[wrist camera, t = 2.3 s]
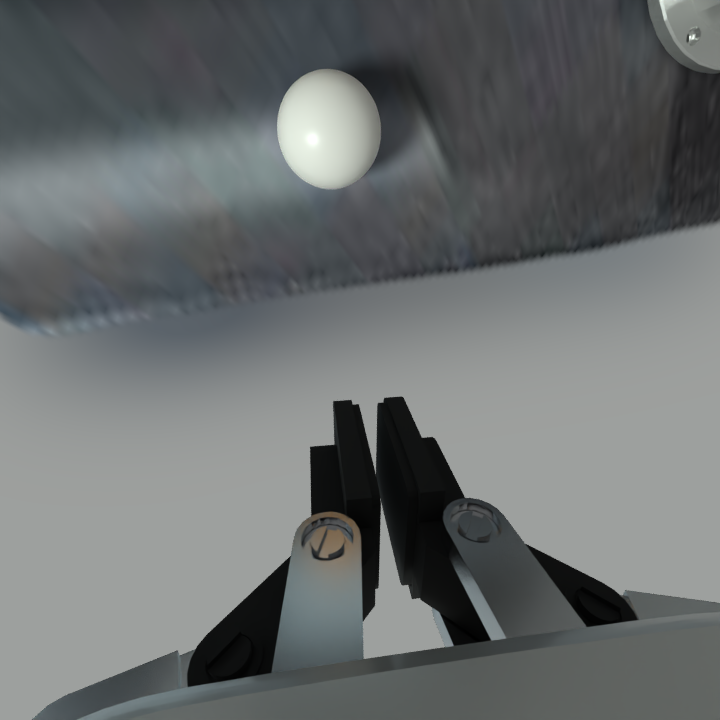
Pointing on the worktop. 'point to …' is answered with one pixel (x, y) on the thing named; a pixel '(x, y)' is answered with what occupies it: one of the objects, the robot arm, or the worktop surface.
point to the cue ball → (329, 129)
